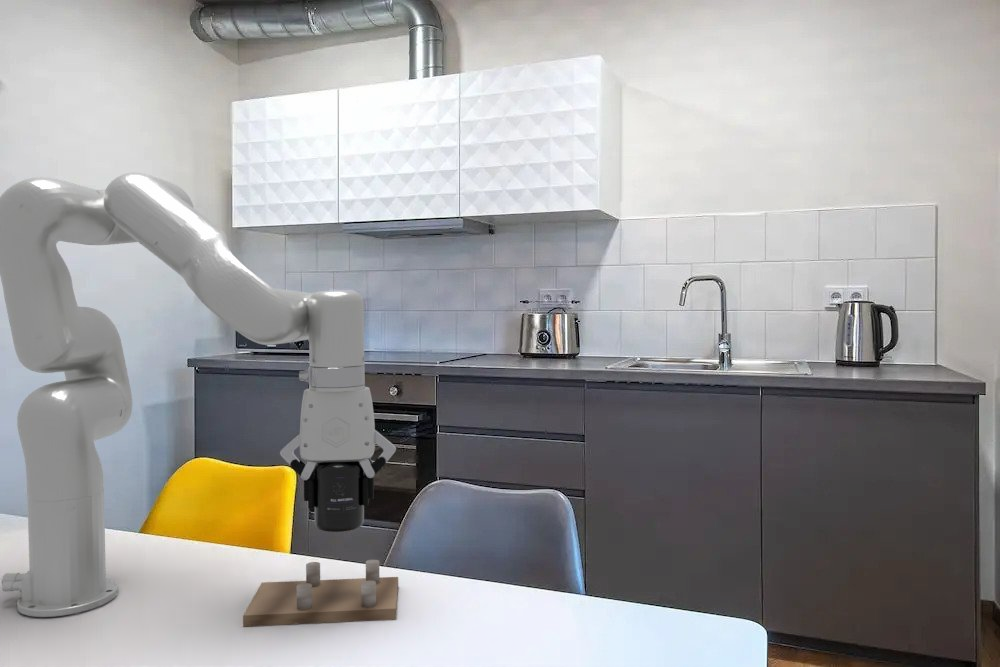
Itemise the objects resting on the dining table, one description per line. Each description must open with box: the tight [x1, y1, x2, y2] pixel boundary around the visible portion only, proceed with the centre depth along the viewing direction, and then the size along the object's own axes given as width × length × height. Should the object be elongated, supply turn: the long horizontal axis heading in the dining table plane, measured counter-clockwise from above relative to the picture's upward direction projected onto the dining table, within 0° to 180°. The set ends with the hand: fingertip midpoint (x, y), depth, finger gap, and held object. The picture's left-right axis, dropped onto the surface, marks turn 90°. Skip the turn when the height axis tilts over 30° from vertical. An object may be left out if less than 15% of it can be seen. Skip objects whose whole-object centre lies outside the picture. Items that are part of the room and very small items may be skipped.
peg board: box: [242, 559, 399, 628], centre depth 107 cm, size 20×12×4 cm, turn 96°
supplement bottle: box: [314, 461, 365, 533], centre depth 107 cm, size 7×7×12 cm
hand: (339, 503), depth 107 cm, fingers closed on supplement bottle, 6 cm apart
